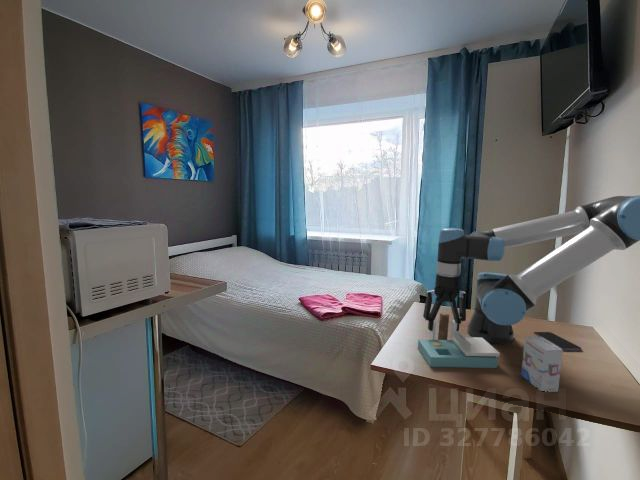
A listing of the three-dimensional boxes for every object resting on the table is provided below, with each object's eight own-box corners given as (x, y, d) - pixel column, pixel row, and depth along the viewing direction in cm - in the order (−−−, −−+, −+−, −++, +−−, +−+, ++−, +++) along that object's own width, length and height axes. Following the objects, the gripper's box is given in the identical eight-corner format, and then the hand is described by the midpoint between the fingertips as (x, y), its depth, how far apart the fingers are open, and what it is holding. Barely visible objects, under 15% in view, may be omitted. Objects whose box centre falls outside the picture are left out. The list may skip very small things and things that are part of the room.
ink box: (519, 375, 97) (524, 335, 95) (535, 374, 98) (540, 335, 96) (541, 392, 89) (546, 349, 87) (559, 392, 89) (565, 349, 87)
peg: (444, 340, 119) (447, 312, 117) (448, 344, 116) (450, 316, 114) (436, 340, 119) (438, 312, 117) (439, 343, 116) (441, 315, 114)
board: (477, 349, 113) (478, 340, 112) (497, 368, 101) (498, 358, 100) (417, 348, 112) (418, 339, 112) (429, 366, 100) (430, 356, 100)
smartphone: (550, 331, 128) (583, 348, 114) (550, 334, 129) (583, 351, 114) (532, 331, 128) (562, 348, 113) (531, 334, 128) (562, 352, 113)
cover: (481, 340, 112) (482, 331, 111) (499, 356, 101) (500, 346, 100) (451, 339, 111) (452, 330, 111) (466, 355, 100) (467, 345, 100)
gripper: (471, 272, 118) (465, 335, 121) (415, 270, 117) (411, 334, 121) (482, 277, 110) (475, 345, 114) (422, 276, 110) (417, 343, 113)
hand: (442, 339), depth 117 cm, fingers open, 6 cm apart
